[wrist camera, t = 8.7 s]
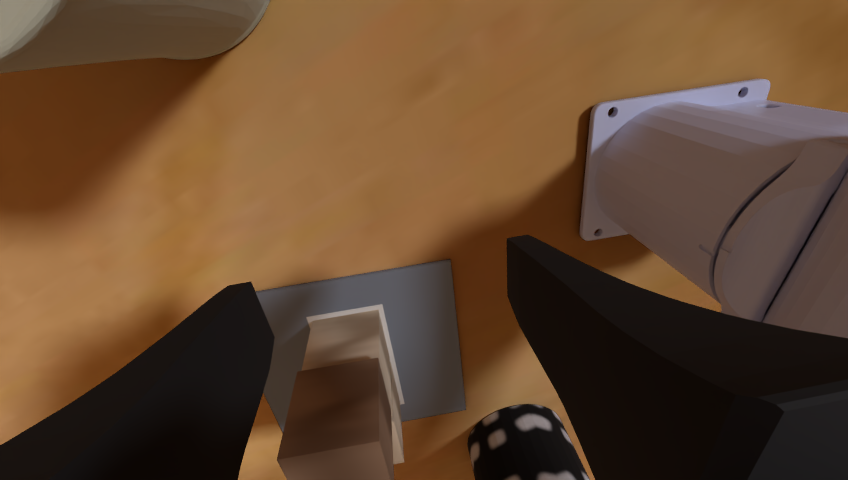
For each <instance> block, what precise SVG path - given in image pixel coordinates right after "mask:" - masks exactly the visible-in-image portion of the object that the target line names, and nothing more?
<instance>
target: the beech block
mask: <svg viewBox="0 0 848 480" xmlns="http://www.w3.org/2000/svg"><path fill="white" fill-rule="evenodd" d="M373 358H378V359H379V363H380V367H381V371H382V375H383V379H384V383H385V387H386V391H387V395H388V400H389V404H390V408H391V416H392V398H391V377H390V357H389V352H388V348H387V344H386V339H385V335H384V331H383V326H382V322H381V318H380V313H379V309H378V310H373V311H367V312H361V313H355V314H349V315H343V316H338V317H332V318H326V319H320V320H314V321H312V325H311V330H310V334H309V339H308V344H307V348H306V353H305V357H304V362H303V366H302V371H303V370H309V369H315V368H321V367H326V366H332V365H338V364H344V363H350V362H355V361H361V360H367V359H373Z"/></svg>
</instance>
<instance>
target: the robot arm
mask: <svg viewBox="0 0 848 480" xmlns="http://www.w3.org/2000/svg"><path fill="white" fill-rule="evenodd" d="M741 89H742V91H741V93H740V94H739V95H738V93H739V91H740V90H741ZM769 89H770V82H769V81H768V80H767V79H753V80H746V81H740V82H733V83H726V84H720V85H713V86H707V87H700V88H693V89H687V90H680V91H673V92H667V93H660V94H654V95H647V96H640V97H634V98H627V99H621V100H614V101H607V102H601V103H598V104H596V105H595V106H594V107H593V109H592V110H591V114H590V125H589V136H588V146H587V157H586V168H585V179H584V190H583V200H582V211H581V222H580V236H581V238H583V239H584V240H586V241H591V240H597V239H603V238H609V237H615V236H621V235H627V234H630V235H631V236H633V237H634V238H635V239H637V240H638V241H639V242H641V243H642V244H643V245H645V246H646V247H647V248H648V249H650V250H651V251H652V252H654V253H655V254H656V255H658V256H659V257H660V258H661V259H663V260H664V261H665V262H667V263H668V264H669V265H671V266H672V267H673V268H675V269H676V270H677V271H678V272H680V273H681V274H682V275H684V276H685V277H686V278H688V279H689V280H690V281H691V282H693V283H694V284H695V285H697V286H698V287H699V288H701V289H702V290H703V291H705V292H706V293H707V294H708V295H710V296H711V297H712V298H714V299H715V300H716V301H718V302H719V303H720V304H721V306H722V311H721V313H720V312H716V311H713V310H709V309H706V308H702V307H699V306H695V305H692V304H688V303H685V302H681V301H678V300H675V299H672V298H669V297H666V296H663V295H660V294H657V293H654V292H652V291H649V290H646V289H643V288H640V287H638V286H635V285H632V284H630V283H627V282H625V281H622V280H620V279H618V278H616V277H613V276H611V275H609V274H606V273H604V272H602V271H600V270H597V269H595V268H593V267H591V266H589V265H587V264H585V263H583V262H581V261H579V260H577V259H575V258H573V257H571V256H569V255H567V254H565V253H563V252H561V251H559V250H557V249H555V248H554V247H552V246H550V245H548V244H546V243H544V242H542V241H540V240H538V239H536V238H534V237H532V236H529V235H523V236H517V237H512V238H507V289H508V298H509V301H510V303H511V306H512V309H513V311H514V314H515V316H516V319H517V321H518V323H519V326H520V327H521V329H522V331H523V333H524V335H525V337H526V338H527V340H528V342H529V344H530V346H531V347H532V349H533V351H534V353H535V354H536V356H537V358H538V360H539V362H540V363H541V365H542V367H543V369H544V370H545V372H546V374H547V376H548V377H549V379H550V381H551V383H552V385H553V386H554V388H555V390H556V392H557V394H558V396H559V398H560V400H561V402H562V403H563V405H564V408H565V410H566V412H567V414H568V417H569V419H570V421H571V424H572V426H573V428H574V430H575V433H576V435H577V437H578V439H579V442H580V444H581V447H582V449H583V451H584V454H585V456H586V459H587V461H588V463H589V466H590V468H591V471H592V473H593V475H594V478H595V480H848V113H845V112H839V111H832V110H826V109H820V108H813V107H807V106H800V105H794V104H788V103H781V102H775V101H769V100H766V99H767V96H768V92H769ZM612 107H613V109H614V111H613V113H612V114H611V115H610V116H608V111H609V110H610V108H612ZM597 229H599V231H598V232H597V233H595V234H594V232H595V231H596V230H597ZM274 339H275V337H274V334H273V332H272V330H271V327H270V325H269V323H268V320H267V318H266V316H265V313H264V311H263V309H262V306H261V304H260V302H259V299H258V297H257V295H256V292H255V290H254V287H253V285H252V283H251V282H246V283H241V284H235V285H229V286H227V287H226V288H224V289H223V290H221V291H220V292H218V293H217V294H216V295H215V296H213V297H212V298H211V299H209V300H208V301H207V302H206V303H204V304H203V305H202V306H201V307H199V308H198V309H197V310H196V311H195V312H193V313H192V314H191V315H190V316H188V317H187V318H186V319H185V320H184V321H182V322H181V323H180V324H179V325H177V326H176V327H175V328H174V329H172V330H171V331H170V332H169V333H168V334H166V335H165V336H164V337H163V338H161V339H160V340H159V341H157V342H156V343H155V344H153V345H152V346H151V347H149V348H148V349H147V350H145V351H144V352H143V353H142V354H140V355H139V356H138V357H136V358H135V359H134V360H132V361H131V362H130V363H128V364H127V365H126V366H125V367H123V368H122V369H120V370H119V371H118V372H116V373H115V374H113V375H112V376H110V377H109V378H108V379H106V380H105V381H103V382H102V383H100V384H99V385H97V386H96V387H94V388H93V389H91V390H90V391H88V392H87V393H85V394H84V395H82V396H81V397H79V398H78V399H76V400H75V401H73V402H72V403H70V404H69V405H67V406H65V407H64V408H62V409H61V410H59V411H57V412H56V413H54V414H52V415H51V416H49V417H47V418H46V419H44V420H42V421H41V422H39V423H37V424H36V425H34V426H32V427H30V428H29V429H27V430H25V431H24V432H22V433H20V434H19V435H17V436H15V437H14V438H12V439H10V440H9V441H7V442H5V443H4V444H2V445H0V480H238V475H239V470H240V466H241V463H242V459H243V455H244V452H245V448H246V445H247V442H248V439H249V435H250V432H251V429H252V426H253V423H254V419H255V416H256V413H257V410H258V407H259V404H260V400H261V397H262V394H263V391H264V387H265V384H266V381H267V377H268V374H269V370H270V365H271V359H272V353H273V346H274Z"/></svg>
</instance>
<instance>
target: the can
mask: <svg viewBox="0 0 848 480" xmlns="http://www.w3.org/2000/svg"><path fill="white" fill-rule="evenodd" d="M269 2H270V0H0V73H8V72H16V71H25V70H34V69H43V68H52V67H61V66H71V65H81V64H92V63H102V62H112V61H122V60H135V59H148V58H162V57H163V58H169V59H179V60H190V59H201V58H206V57H210V56H214V55H217V54H220V53H222V52H224V51H227V50H228V49H230V48H232V47H234V46H235V45H237V44H238V43H240V42H241V41H242V40H243V39H244V38H246V37H247V36H248V35H249V34H250V33H251V32H252V30H253V29H254V28H255V27H256V25H257V24H258V23H259V21H260V20H261V18H262V16H263V15H264V13H265V11H266V9H267V7H268V4H269Z"/></svg>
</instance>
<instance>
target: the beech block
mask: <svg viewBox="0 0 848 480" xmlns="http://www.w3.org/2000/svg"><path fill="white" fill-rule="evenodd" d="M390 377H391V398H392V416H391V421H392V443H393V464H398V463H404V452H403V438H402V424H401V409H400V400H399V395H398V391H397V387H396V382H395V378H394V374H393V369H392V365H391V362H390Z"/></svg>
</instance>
